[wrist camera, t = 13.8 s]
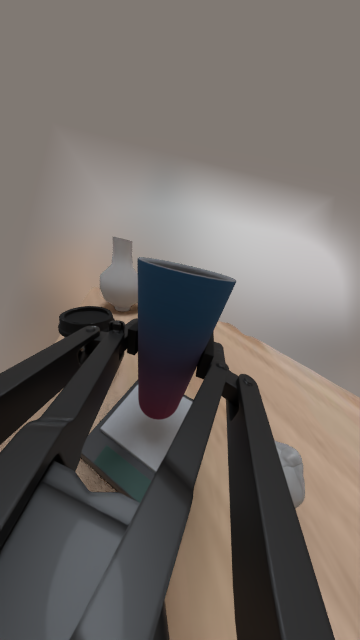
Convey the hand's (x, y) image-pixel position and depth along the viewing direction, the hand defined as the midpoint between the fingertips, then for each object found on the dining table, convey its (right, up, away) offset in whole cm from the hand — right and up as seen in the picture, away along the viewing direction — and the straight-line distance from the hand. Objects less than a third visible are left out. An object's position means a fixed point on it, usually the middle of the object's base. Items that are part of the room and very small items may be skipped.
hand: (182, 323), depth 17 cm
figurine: (+12, -24, +3) cm, 27 cm away
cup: (-3, -9, -1) cm, 10 cm away
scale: (-5, -18, +5) cm, 20 cm away
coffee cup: (-19, -12, +12) cm, 26 cm away
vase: (-27, +6, +42) cm, 51 cm away
